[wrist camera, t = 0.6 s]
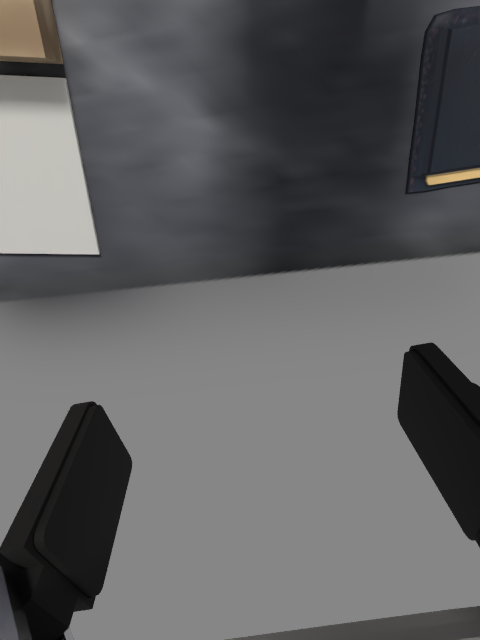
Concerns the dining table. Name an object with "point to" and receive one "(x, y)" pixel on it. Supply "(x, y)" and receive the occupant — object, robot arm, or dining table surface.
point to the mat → (42, 171)
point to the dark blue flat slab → (447, 104)
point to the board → (29, 32)
